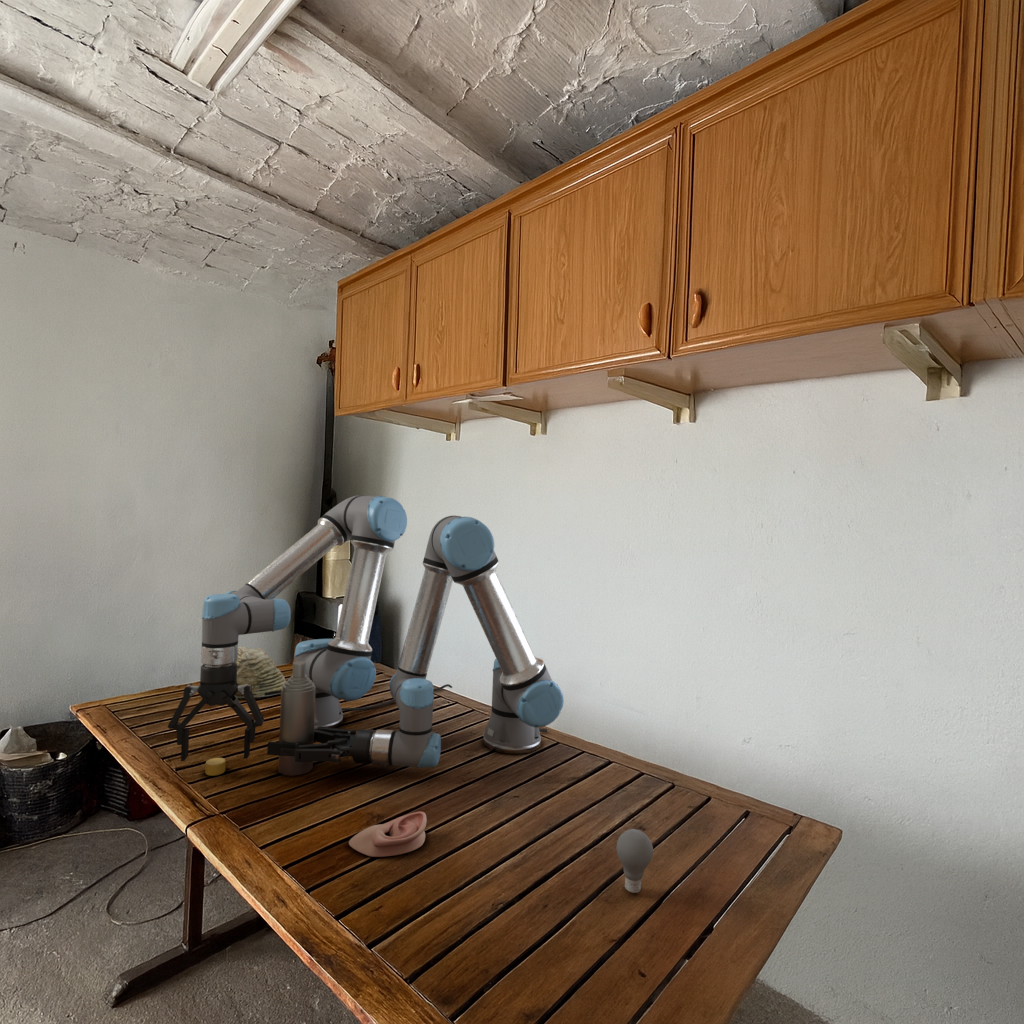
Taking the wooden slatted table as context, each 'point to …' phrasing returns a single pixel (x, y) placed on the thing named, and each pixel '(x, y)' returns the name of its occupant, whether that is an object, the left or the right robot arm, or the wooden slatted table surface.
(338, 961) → the wooden slatted table surface
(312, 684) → the bottle
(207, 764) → the cap
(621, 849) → the light bulb
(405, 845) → the anatomical model
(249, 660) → the fossil
